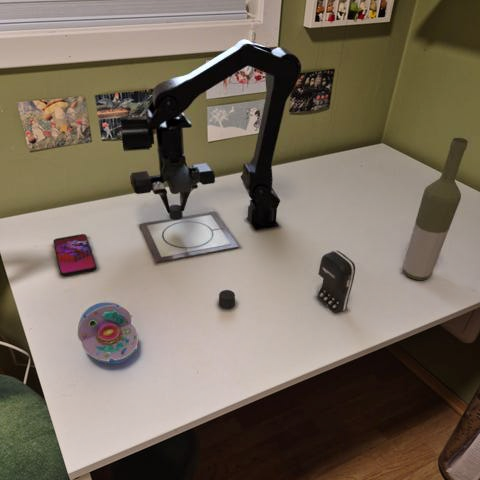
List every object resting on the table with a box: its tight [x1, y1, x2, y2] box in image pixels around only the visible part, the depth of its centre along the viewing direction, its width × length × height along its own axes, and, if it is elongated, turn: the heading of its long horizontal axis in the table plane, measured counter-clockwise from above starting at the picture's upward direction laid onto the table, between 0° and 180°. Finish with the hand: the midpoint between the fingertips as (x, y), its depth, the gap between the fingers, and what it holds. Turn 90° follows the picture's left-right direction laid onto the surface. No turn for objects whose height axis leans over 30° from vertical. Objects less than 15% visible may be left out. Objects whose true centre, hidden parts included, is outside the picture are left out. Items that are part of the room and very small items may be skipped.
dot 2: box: [218, 289, 236, 310], centre depth 95 cm, size 3×3×2 cm
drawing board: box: [139, 211, 240, 264], centre depth 115 cm, size 20×18×1 cm
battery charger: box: [317, 250, 356, 313], centre depth 93 cm, size 7×4×11 cm, turn 31°
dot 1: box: [168, 204, 183, 220], centre depth 113 cm, size 3×3×2 cm
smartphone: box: [53, 233, 97, 277], centre depth 107 cm, size 8×1×15 cm
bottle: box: [402, 137, 469, 281], centre depth 96 cm, size 7×7×30 cm
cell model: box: [77, 301, 139, 364], centre depth 81 cm, size 10×12×10 cm
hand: (175, 211), depth 113 cm, fingers closed on dot 1, 3 cm apart
